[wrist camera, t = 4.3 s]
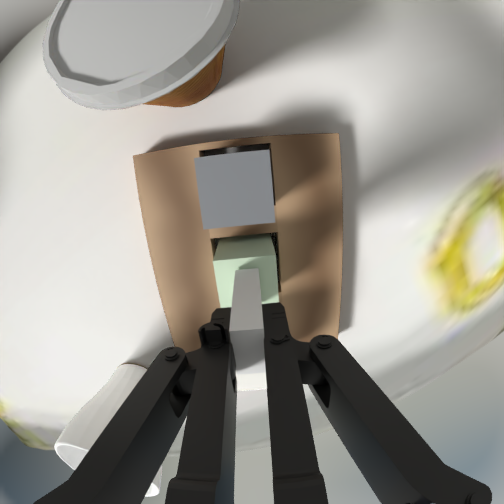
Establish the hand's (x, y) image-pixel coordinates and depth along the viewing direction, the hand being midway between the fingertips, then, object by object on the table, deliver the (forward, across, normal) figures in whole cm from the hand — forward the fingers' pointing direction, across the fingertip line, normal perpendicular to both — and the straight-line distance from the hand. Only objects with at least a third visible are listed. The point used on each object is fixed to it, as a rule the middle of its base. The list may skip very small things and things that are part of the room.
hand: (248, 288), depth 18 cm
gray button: (+4, 0, +7) cm, 7 cm away
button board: (+6, 0, 0) cm, 6 cm away
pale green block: (+5, 0, 0) cm, 5 cm away
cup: (+6, -15, -14) cm, 21 cm away
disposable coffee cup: (+6, -4, +16) cm, 17 cm away
